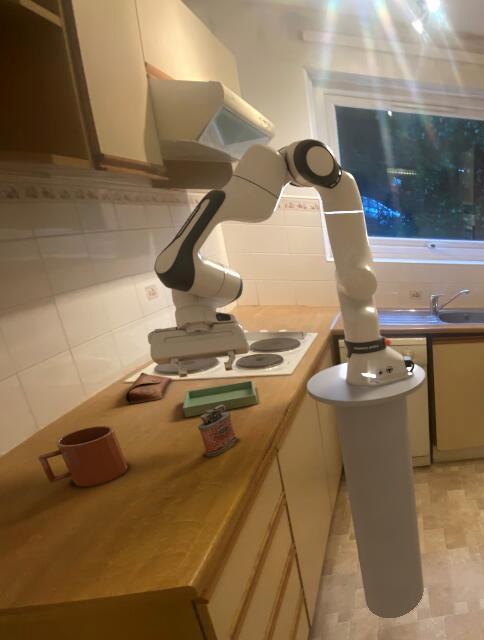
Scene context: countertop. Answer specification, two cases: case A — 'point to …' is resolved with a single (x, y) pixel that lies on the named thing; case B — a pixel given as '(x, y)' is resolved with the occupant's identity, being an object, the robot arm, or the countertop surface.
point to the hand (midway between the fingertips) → (206, 372)
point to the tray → (219, 398)
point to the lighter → (217, 431)
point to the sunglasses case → (147, 388)
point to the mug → (88, 456)
